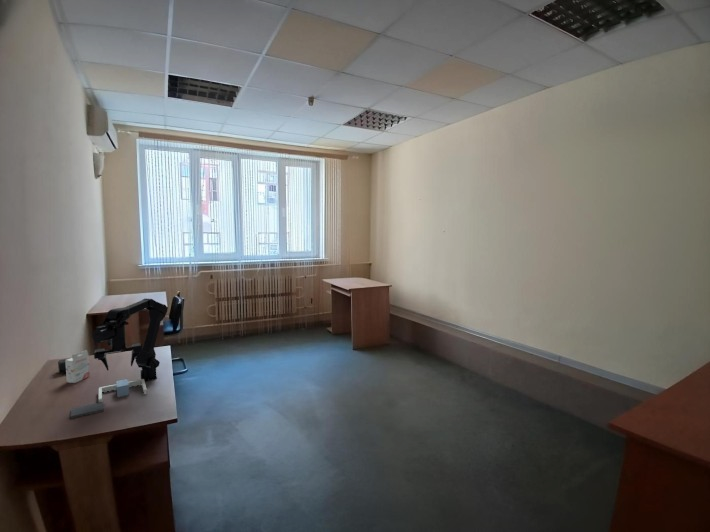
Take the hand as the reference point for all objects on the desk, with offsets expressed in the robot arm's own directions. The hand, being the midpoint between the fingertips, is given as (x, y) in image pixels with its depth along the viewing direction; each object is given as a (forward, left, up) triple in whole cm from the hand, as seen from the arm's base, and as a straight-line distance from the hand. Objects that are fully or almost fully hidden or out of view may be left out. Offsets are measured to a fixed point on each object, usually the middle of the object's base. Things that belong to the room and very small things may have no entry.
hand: (119, 368), depth 166 cm
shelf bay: (-1, +1, -12) cm, 12 cm away
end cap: (+21, -45, -12) cm, 52 cm away
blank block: (-1, +1, -12) cm, 12 cm away
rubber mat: (+12, +13, -12) cm, 21 cm away
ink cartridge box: (+17, -29, -12) cm, 36 cm away
